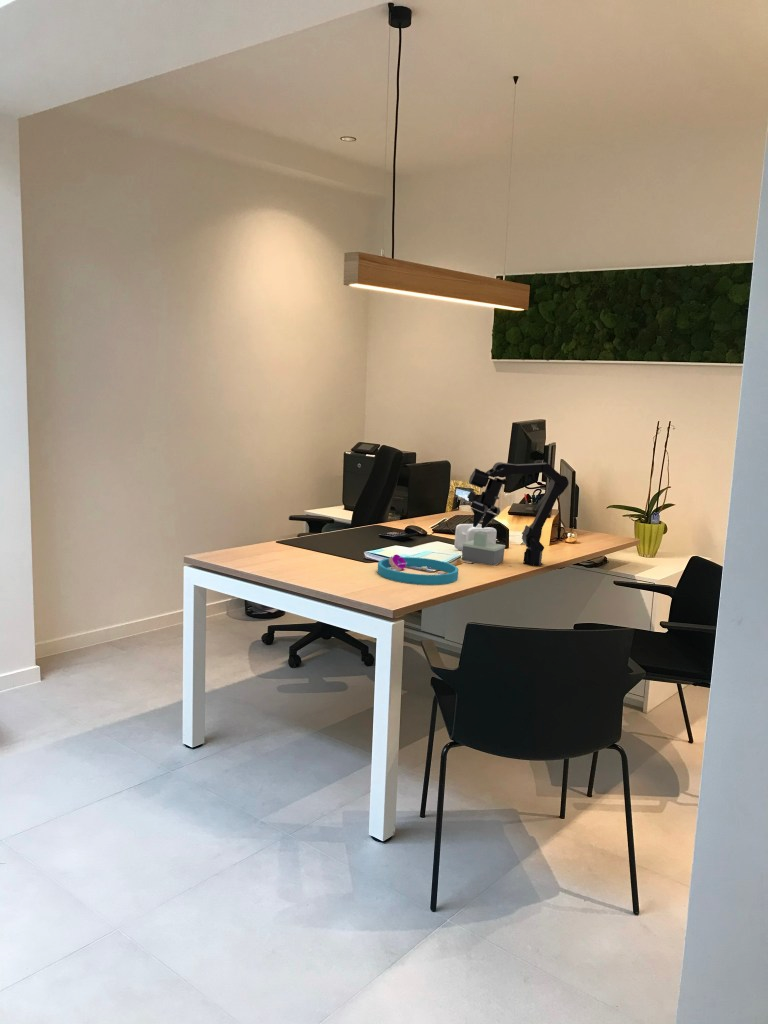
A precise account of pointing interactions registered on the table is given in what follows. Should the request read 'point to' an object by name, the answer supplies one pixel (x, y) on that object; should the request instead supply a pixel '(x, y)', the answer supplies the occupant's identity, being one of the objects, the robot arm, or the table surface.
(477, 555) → the parts tub
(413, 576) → the teal ring
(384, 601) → the table surface
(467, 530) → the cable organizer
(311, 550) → the table surface
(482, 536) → the lid
